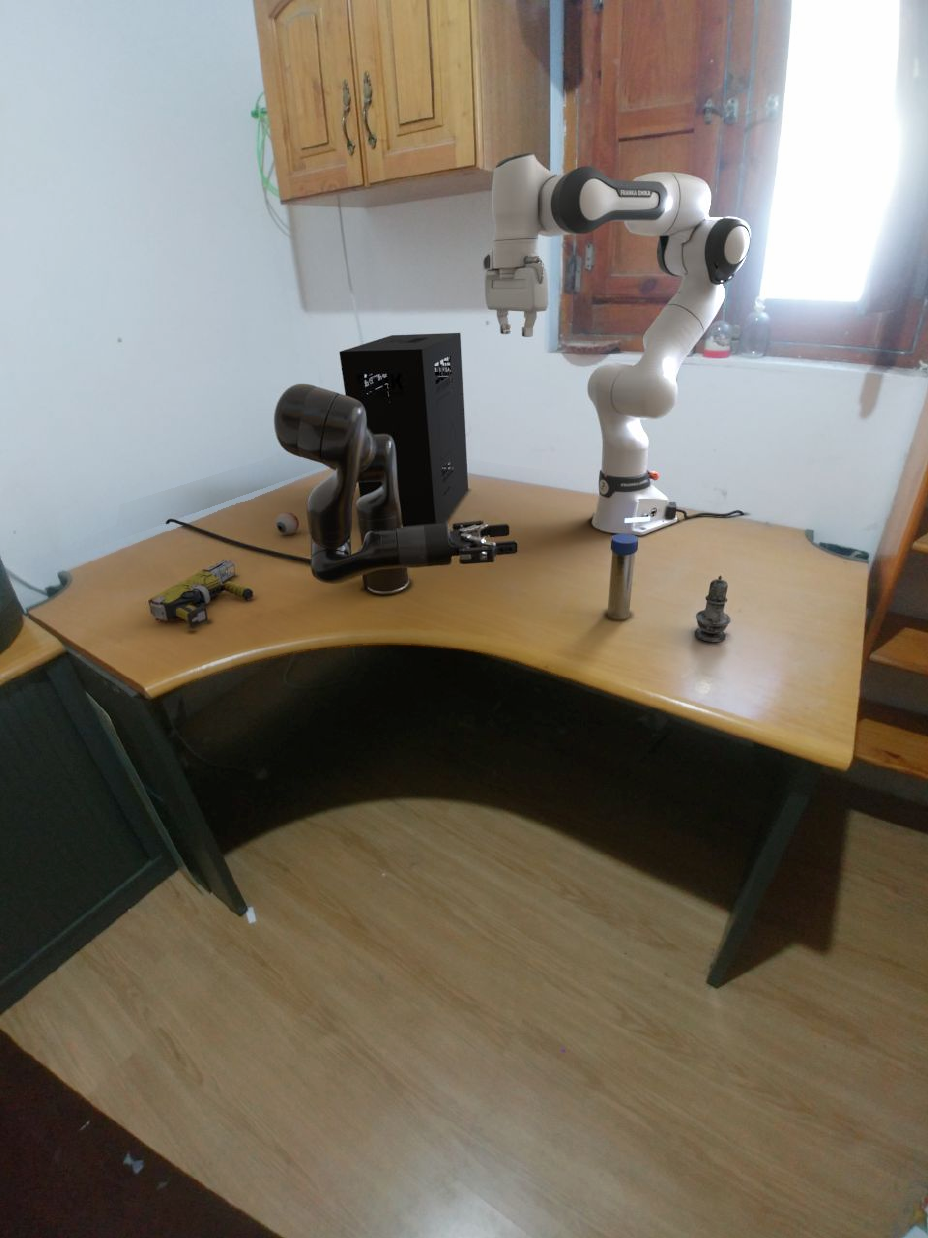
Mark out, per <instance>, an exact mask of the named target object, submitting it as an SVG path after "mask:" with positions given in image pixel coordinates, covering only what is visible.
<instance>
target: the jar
mask: <svg viewBox="0 0 928 1238" xmlns="http://www.w3.org/2000/svg"><path fill="white" fill-rule="evenodd" d="M635 559H636V552H635V553H633V554H629V555H622V554H617V553H614V552H613V551H612V550H611V559H610V560H611V563H610V572H609V573H610V575H609V587H608V599H607V601H608V602H607V613H606V614H607V616H608V617H609V618H610V619H611V620H612V619H613V620H616V621H617V620H618V621H622V620H626V619H628V618H629V616H630V610H631V600H632V589H633V581H634V580H633V578H634V569H635Z"/></svg>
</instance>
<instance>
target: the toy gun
mask: <svg viewBox="0 0 928 1238" xmlns="http://www.w3.org/2000/svg"><path fill="white" fill-rule="evenodd" d="M235 566H236V565H235V562H234V561H233V560H227V559H225V558H224V559H222V560H221V561H219V562H216V563H215V564H213V565H211V566H209V567H208V568H206V569H205V568H203V569H202V570H201V571H199V572H197V573H195V574H193V575H191V576H189V577H187V578H186V579H184V580H182V581H180V582H178V583H176V584H174V585H173V586H171V587H169V588H167V589H166V590H164V591H162V592H160V593H157V594H156V595H154V596H152V597H151V598H149V599H148V606H149V611H150V614H151V616H152V618H155V621H159V622H164V621H168V622H169V621H176V620H179V619H182V620H185V621H187V622H188V625H189V628H191V629H193V628H195V627H197V626H199V625H201V624H203V623H205V622H207V621H208V620H209V619H208V612H207V608H206V606H207V605H209V603H210V602H211V598H213V597H215V596H218V595H220V594H222V593H223V592H224V591H225V592H227V593H229V594H232V595H234V596H237V597H239V598H242V599H244V600H246V601H248V600H250V599H252V598H254V591H253V589H251V588H250V587H245V586H243V585H240V584H237V583H235V582H232V581H227V580H229V579H230V578H232V577H234V576H236V567H235ZM231 568H233V571H229V570H230V569H231ZM225 581H226V582H225ZM223 582H225V583H224V584H223Z"/></svg>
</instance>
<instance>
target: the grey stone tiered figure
mask: <svg viewBox="0 0 928 1238" xmlns="http://www.w3.org/2000/svg"><path fill="white" fill-rule="evenodd" d="M728 587H729V585H728V582H727V581H726V580H724V579H723V576H722V575H719V576H717V578H716V579H713V580H712V581H710V583H709V589H708V594H707V595H706V596H705V600H706V604H705V608H704V609H702V610H700V611H698V612H696V614H695V618H696V623H697V625H698V627H697V628H696V629H695V631H694V635H695V637H697V638H698V639H699V640H701V641H704V642H707V643H718V642H723V641H724V640H726V638H727V637H726V633H725V630H726V629H727V627H728V625H729V624H730V623H731V617H730V615H728V614H727V613H725V605H726V603H727V602H728V598H727V592H728Z"/></svg>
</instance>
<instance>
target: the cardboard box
mask: <svg viewBox="0 0 928 1238" xmlns="http://www.w3.org/2000/svg"><path fill="white" fill-rule="evenodd" d="M462 354H463V353H462V336H461V332H447V333H446V332H442V333H441V332H440V333H415V334H413V333H412V334H391V335H388V336H384V337H382V338H379V339H376V340H373V341H368V342H366V343H363V344H359V345H356V346H354V347H351V348H347V349H343V350H341V351H339V359H340V367H341V372H342V380H343V386H344V387H343V388H344V395H346V396H349V397H352V398H354V399H356V400H358V401H360V402H361V403H362V404H363V406H364V408H365V410H366V416H367V427H368V428H369V429H370V430H371V432H372V433H373V434H380V433H386V434H390V435H391V436H392V438H393V440H394V443H395V448H396V457H397V477H398V489H399V498H400V506H401V515H402V524H403V527H407V526H414V525H425V524H437V523H447V520H448V519H449V518H450V516H451V514H452V513H453V512H454V511H455V509H456V508H457V506H458V505H459V503H460V502H461V500H462V499H463V497H464V496H465V495H466V493H467V491H468V490H469V479H468V477H469V476H468V457H467V455H468V454H467V439H466V437H467V436H466V418H465V417H466V415H465V399H464V397H465V396H464V395H465V394H464V377H463V375H464V374H463V357H462V356H463V355H462ZM445 359H446V360H445ZM441 361H442V363H441ZM436 364H438V365H436ZM357 485H358V492H359V498H361V497H362V496H364V495H367V494H369V493H371V492H373V491H375V490H377V489H378V488H379V487H381V486H382V482H381V481H376V482H357Z"/></svg>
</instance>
